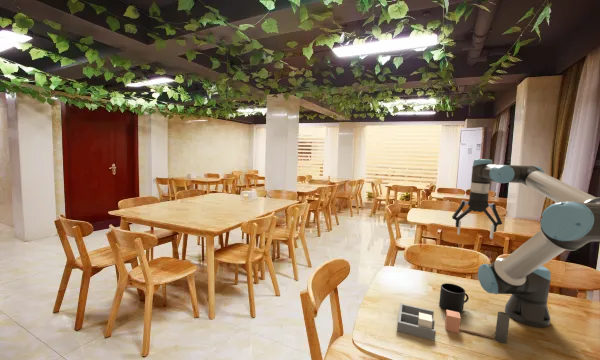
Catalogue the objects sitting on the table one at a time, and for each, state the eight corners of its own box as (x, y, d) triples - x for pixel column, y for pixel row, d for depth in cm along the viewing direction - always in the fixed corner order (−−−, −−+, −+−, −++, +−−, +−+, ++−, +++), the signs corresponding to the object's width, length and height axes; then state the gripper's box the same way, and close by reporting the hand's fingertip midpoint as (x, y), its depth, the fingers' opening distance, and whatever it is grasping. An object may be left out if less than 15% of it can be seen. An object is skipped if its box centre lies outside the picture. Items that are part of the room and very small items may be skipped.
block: (430, 330, 111) (431, 315, 110) (430, 336, 107) (432, 321, 106) (417, 326, 113) (419, 312, 112) (417, 333, 108) (419, 318, 108)
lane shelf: (432, 318, 119) (433, 310, 118) (434, 340, 105) (435, 331, 104) (399, 310, 123) (400, 303, 123) (396, 330, 110) (397, 321, 109)
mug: (473, 314, 123) (476, 294, 122) (445, 313, 123) (447, 293, 122) (461, 302, 133) (463, 283, 132) (435, 301, 132) (437, 282, 131)
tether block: (504, 337, 108) (508, 312, 107) (508, 345, 104) (511, 319, 103) (444, 323, 115) (447, 299, 114) (445, 330, 111) (448, 305, 110)
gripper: (508, 193, 135) (503, 238, 137) (448, 188, 144) (444, 230, 146) (513, 195, 128) (507, 242, 130) (450, 190, 137) (446, 234, 139)
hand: (474, 236), depth 138 cm, fingers open, 13 cm apart
